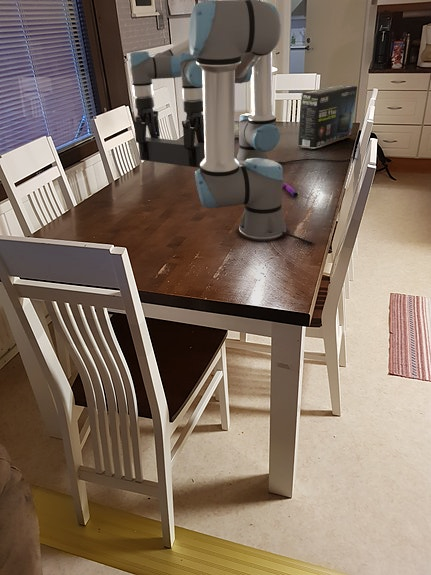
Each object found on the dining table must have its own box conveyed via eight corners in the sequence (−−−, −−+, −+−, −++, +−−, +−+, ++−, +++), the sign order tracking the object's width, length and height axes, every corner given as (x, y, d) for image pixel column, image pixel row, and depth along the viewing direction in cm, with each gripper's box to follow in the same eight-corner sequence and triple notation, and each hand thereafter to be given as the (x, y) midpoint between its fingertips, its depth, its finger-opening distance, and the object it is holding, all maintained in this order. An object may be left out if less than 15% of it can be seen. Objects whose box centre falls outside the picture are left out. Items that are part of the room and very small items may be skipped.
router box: (314, 151, 231) (318, 94, 217) (296, 148, 237) (299, 92, 224) (352, 138, 251) (358, 85, 238) (335, 135, 258) (340, 83, 245)
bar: (207, 164, 178) (207, 143, 174) (200, 168, 174) (199, 146, 170) (148, 156, 191) (145, 137, 187) (140, 159, 187) (137, 140, 183)
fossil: (240, 133, 254) (221, 116, 257) (229, 149, 261) (212, 132, 264) (255, 132, 268) (238, 116, 271) (245, 147, 274) (228, 131, 277)
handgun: (264, 183, 192) (264, 178, 191) (281, 181, 193) (281, 176, 192) (279, 199, 175) (279, 194, 174) (298, 197, 176) (298, 192, 175)
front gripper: (198, 95, 174) (201, 157, 186) (170, 103, 160) (175, 169, 172) (215, 96, 171) (217, 159, 183) (188, 104, 157) (192, 171, 169)
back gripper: (150, 92, 184) (156, 151, 196) (120, 100, 170) (128, 162, 182) (165, 93, 181) (170, 153, 193) (136, 101, 167) (143, 164, 179)
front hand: (197, 163), depth 177 cm, fingers closed on bar, 5 cm apart
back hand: (150, 157), depth 188 cm, fingers closed on bar, 5 cm apart
